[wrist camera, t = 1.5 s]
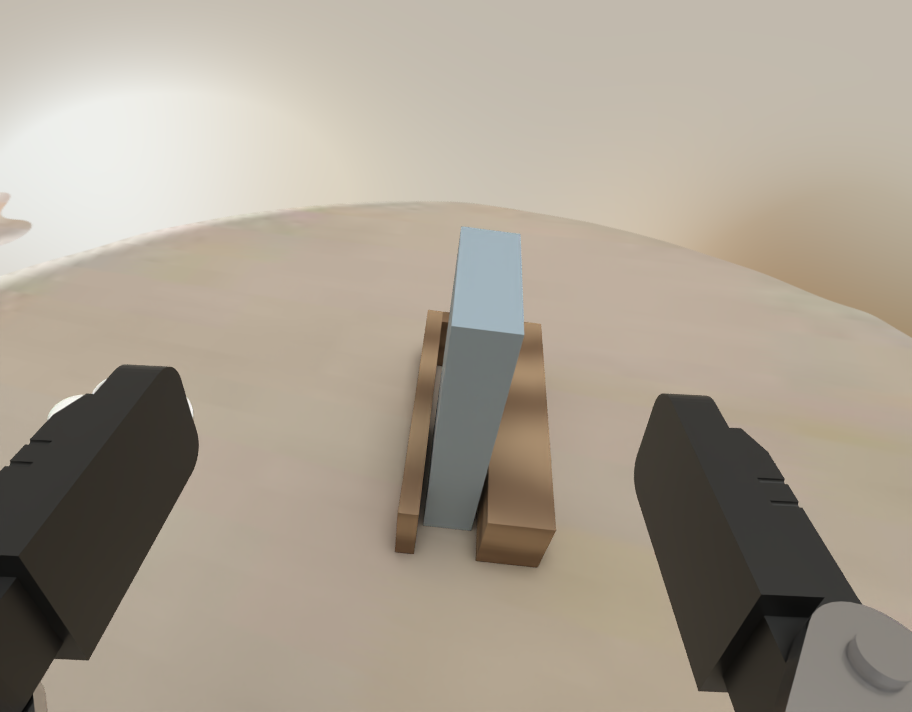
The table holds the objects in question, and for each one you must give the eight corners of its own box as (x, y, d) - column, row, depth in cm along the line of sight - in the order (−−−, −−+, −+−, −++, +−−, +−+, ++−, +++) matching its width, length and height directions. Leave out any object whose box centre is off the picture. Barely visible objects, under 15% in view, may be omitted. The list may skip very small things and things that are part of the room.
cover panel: (470, 530, 37) (524, 334, 24) (423, 525, 37) (451, 326, 24) (475, 434, 42) (520, 234, 30) (433, 429, 42) (461, 226, 30)
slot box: (537, 567, 35) (555, 530, 32) (394, 551, 35) (397, 512, 32) (528, 366, 48) (541, 324, 45) (423, 353, 48) (428, 309, 44)
